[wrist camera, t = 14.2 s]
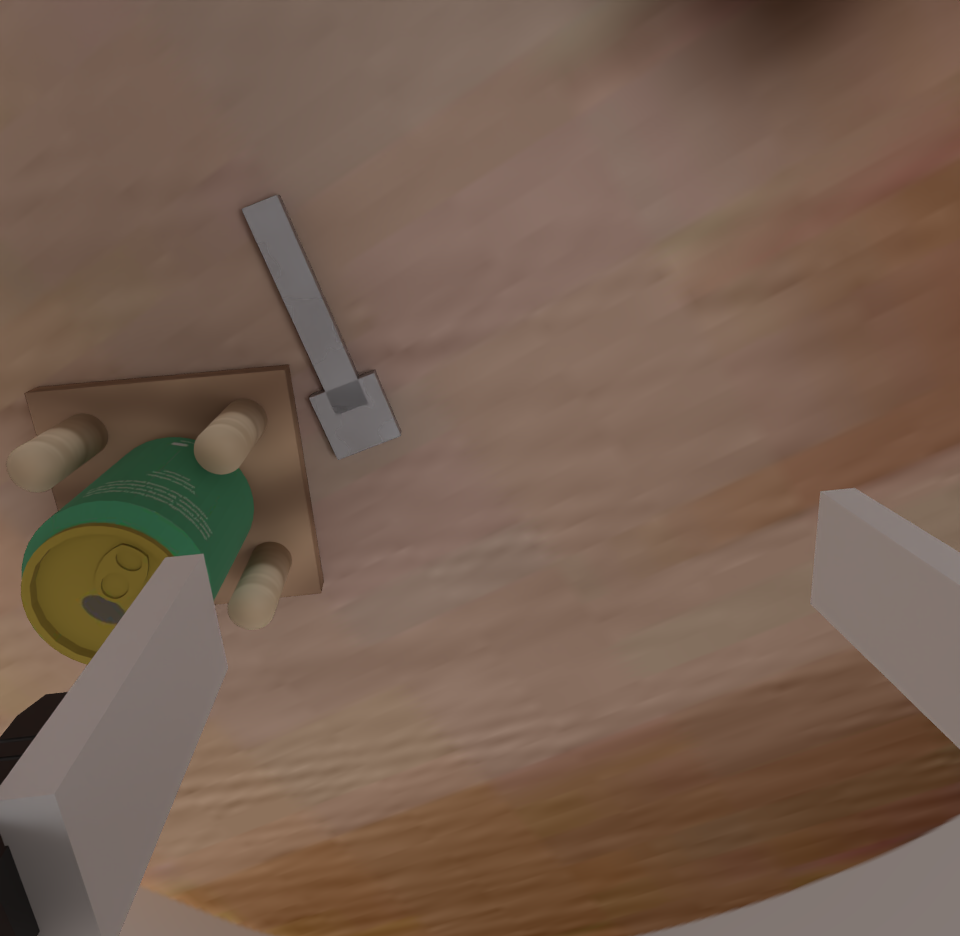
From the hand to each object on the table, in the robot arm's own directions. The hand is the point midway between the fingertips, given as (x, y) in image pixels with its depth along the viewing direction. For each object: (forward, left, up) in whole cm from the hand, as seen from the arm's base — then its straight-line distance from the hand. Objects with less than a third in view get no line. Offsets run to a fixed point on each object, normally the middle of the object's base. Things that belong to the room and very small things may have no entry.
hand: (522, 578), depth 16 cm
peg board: (+7, -16, -29) cm, 34 cm away
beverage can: (+7, -16, -27) cm, 32 cm away
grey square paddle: (-2, -7, -29) cm, 30 cm away
